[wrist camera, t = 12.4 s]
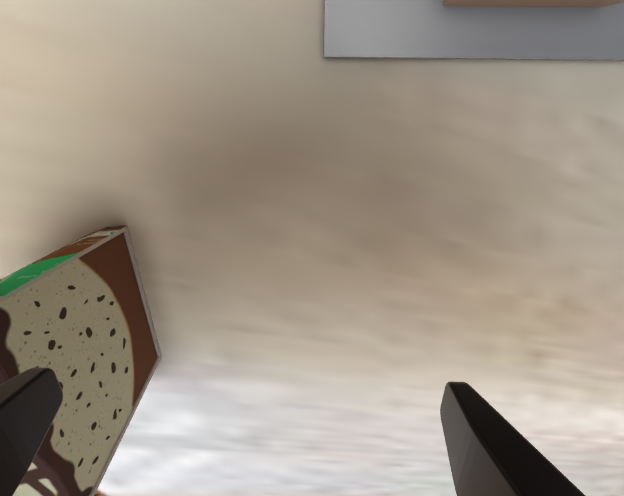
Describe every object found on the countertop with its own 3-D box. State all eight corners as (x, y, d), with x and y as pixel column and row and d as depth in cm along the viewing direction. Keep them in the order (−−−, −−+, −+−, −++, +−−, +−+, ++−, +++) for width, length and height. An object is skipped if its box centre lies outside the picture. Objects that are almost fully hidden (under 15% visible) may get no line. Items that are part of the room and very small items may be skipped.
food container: (7, 200, 20) (-262, 313, 11) (119, 199, 19) (-60, 314, 10) (78, 372, 25) (-61, 542, 16) (166, 373, 25) (75, 546, 16)
